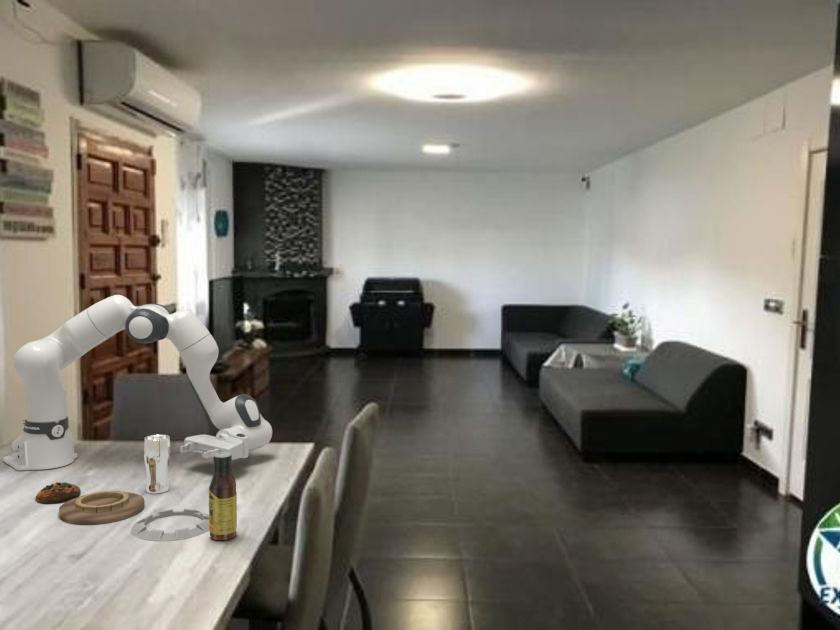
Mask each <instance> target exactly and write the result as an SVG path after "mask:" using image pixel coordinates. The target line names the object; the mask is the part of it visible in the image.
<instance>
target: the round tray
mask: <svg viewBox="0 0 840 630" xmlns="http://www.w3.org/2000/svg"><path fill="white" fill-rule="evenodd" d="M145 507H146V506H145V498H144V497H143V496H142V495H141V494H138V493H135V492H129V491H120V490H102V491H96V492H91V493H87V494H84V495H81V496H79V497H77V498H74V499H72V500H70V501H67V502H63V504H61V505H60V506H59V508H58V517H59V519H60V520H61V521H62V522H64V523H67V524H71V525H79V526H80V525H81V526H82V525H83V526H92V525H93V526H94V525H103V524H104V525H105V524H110V523H115V522H119V521H120V522H121V521H122V520H123V521H124V520H127V519H130V518H132V517H134V516H136V515H138V514H140V513H141V512H142V511H143V510H144V509H145Z"/></svg>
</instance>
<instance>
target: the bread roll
mask: <svg viewBox="0 0 840 630" xmlns="http://www.w3.org/2000/svg"><path fill="white" fill-rule="evenodd" d="M80 495H81V488H80V486H78V485H76V484H73V483H69V482H67V481H64V482H58V481H56V482H55V483H51V484H50V485H46V486H45V487H43V488H41V489H40V490H39V491H38V492H37V494H36V495H35V500H36V501H37V502H38V503H40V504H62V503H63V504H64V503H66V502H67V501H70V500H72V499H74V498H77V497H80Z"/></svg>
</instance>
